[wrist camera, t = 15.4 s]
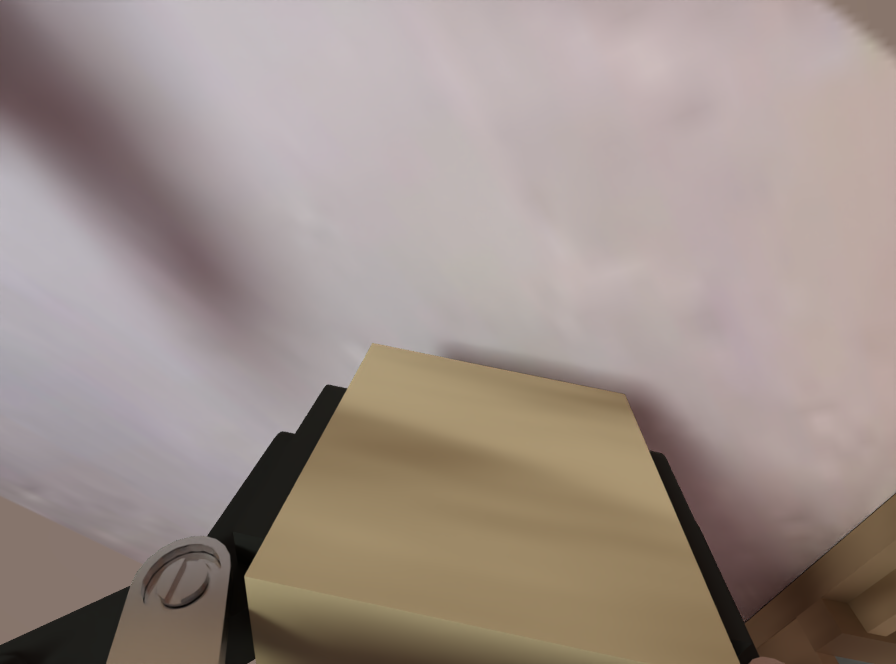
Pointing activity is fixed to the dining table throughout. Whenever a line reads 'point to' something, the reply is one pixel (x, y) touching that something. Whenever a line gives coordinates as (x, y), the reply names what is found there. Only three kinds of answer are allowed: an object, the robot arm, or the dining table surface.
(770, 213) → the dining table surface
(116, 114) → the dining table surface
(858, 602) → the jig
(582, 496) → the wing block
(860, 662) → the block
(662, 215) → the dining table surface
